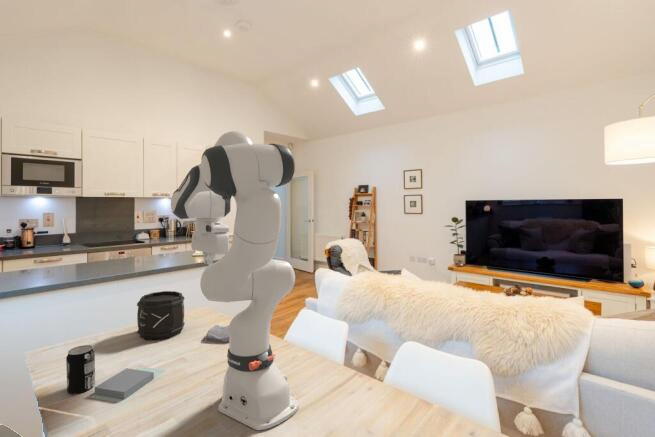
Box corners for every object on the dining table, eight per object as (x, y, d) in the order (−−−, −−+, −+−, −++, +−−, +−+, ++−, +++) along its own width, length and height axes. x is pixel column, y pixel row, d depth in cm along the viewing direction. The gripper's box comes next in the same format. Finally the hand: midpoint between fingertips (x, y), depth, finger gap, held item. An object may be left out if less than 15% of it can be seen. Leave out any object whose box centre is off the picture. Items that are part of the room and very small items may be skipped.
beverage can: (65, 389, 96) (64, 349, 95) (93, 381, 101) (92, 342, 100) (68, 399, 91) (67, 356, 91) (97, 389, 96) (96, 349, 95)
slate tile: (126, 368, 103) (94, 387, 93) (153, 372, 101) (124, 392, 91) (126, 374, 104) (94, 394, 93) (153, 379, 101) (124, 399, 91)
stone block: (233, 347, 129) (241, 332, 139) (231, 336, 128) (239, 322, 138) (203, 347, 130) (213, 332, 140) (202, 336, 129) (212, 322, 139)
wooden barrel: (128, 334, 136) (127, 296, 135) (170, 322, 150) (170, 288, 150) (148, 346, 125) (148, 305, 124) (192, 332, 139) (192, 295, 139)
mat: (166, 371, 107) (166, 370, 107) (120, 403, 89) (120, 402, 89) (140, 367, 109) (140, 366, 109) (90, 398, 92) (90, 397, 92)
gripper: (187, 225, 123) (186, 262, 124) (215, 227, 110) (214, 269, 110) (203, 225, 128) (202, 260, 128) (231, 227, 115) (231, 266, 115)
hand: (208, 264), depth 119 cm, fingers closed
